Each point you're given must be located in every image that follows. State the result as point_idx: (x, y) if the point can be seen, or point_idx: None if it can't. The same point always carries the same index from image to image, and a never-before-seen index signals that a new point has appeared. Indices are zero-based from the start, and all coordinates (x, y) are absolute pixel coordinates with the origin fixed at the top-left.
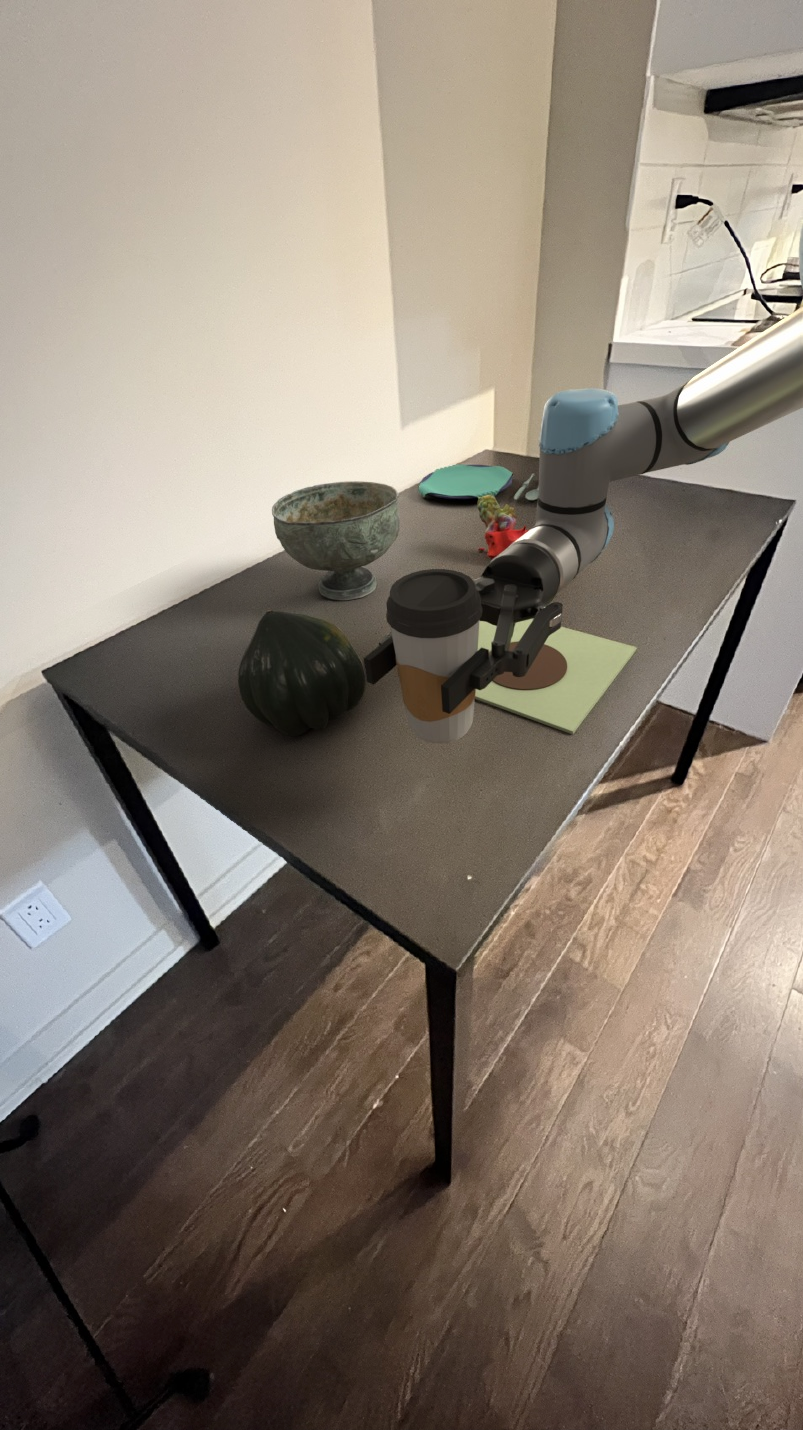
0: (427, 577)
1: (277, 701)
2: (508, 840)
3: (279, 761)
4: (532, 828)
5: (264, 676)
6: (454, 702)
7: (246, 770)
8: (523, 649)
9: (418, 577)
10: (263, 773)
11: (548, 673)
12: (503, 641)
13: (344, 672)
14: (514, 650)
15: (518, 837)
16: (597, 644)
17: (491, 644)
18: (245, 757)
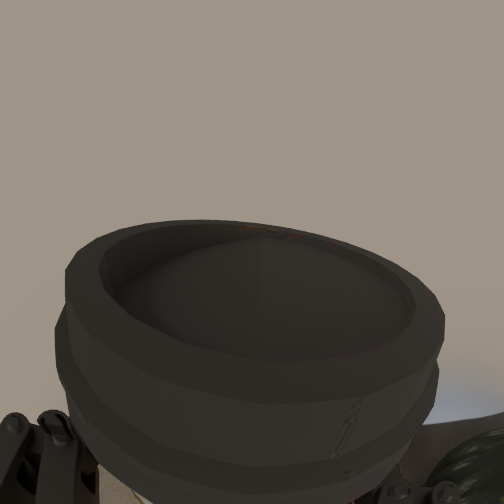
0: (374, 332)
1: (452, 452)
2: (122, 484)
3: (406, 475)
4: (100, 498)
5: (482, 434)
6: None
7: (416, 452)
8: (7, 429)
9: (403, 320)
10: (403, 459)
11: None
12: (47, 467)
13: None
14: (25, 429)
15: (113, 488)
16: None
17: (72, 429)
18: (430, 458)
